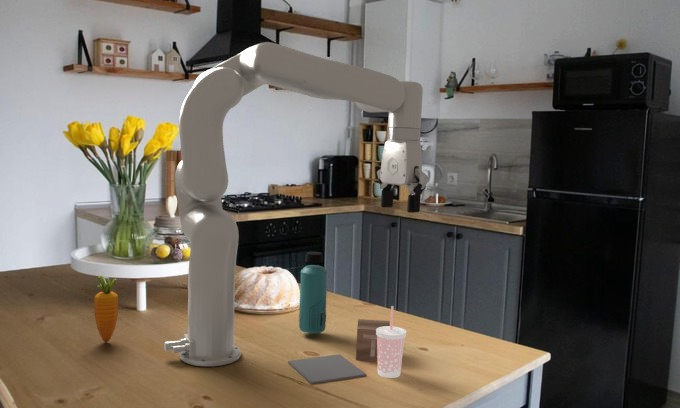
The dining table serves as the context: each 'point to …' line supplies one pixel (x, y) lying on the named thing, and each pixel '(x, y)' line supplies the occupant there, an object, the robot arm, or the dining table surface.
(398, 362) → the beverage cup
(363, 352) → the letter cube
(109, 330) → the carrot
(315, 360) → the grey mat
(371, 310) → the dining table surface
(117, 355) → the dining table surface
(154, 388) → the dining table surface
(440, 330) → the dining table surface
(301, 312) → the beverage bottle
